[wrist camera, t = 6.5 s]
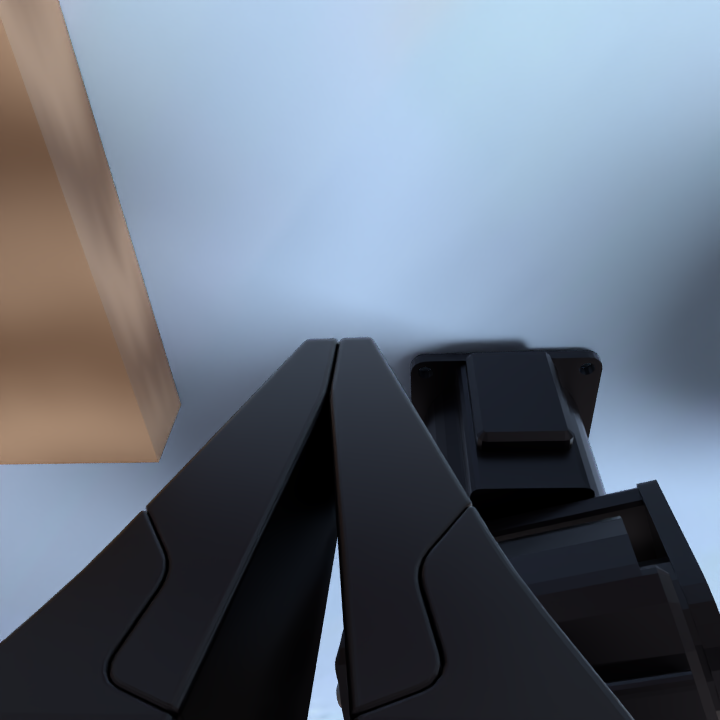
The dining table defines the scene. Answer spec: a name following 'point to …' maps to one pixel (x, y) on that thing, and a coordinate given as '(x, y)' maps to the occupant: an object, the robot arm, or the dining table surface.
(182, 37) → the dining table surface
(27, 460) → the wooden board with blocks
